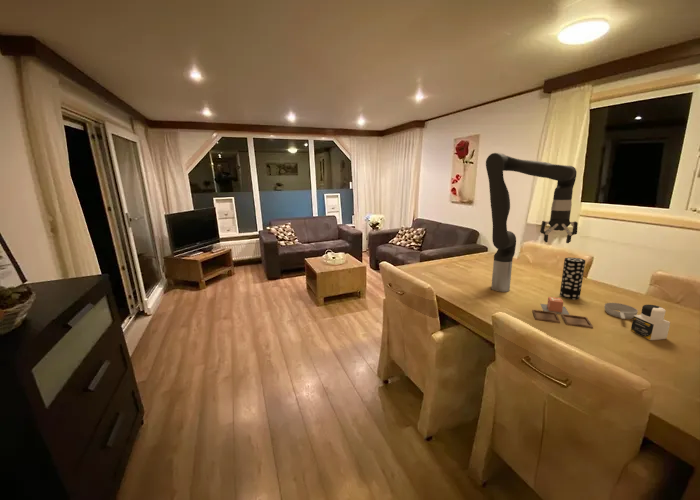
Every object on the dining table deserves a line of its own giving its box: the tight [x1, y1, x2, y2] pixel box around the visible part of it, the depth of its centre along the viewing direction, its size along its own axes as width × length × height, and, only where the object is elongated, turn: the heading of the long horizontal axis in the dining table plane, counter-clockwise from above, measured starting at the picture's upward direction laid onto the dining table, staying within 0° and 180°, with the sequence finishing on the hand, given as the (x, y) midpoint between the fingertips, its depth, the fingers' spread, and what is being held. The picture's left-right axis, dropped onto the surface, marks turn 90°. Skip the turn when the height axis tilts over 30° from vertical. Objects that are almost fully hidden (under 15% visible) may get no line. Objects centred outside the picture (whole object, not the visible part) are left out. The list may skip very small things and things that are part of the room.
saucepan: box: [604, 302, 639, 320], centre depth 123 cm, size 11×18×4 cm, turn 141°
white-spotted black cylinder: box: [559, 257, 586, 301], centre depth 145 cm, size 8×8×20 cm
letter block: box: [546, 296, 564, 312], centre depth 133 cm, size 5×5×5 cm
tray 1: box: [531, 309, 561, 324], centre depth 127 cm, size 9×9×1 cm
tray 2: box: [560, 314, 594, 329], centre depth 121 cm, size 9×9×1 cm
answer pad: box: [540, 303, 571, 315], centre depth 133 cm, size 10×10×1 cm
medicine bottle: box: [630, 304, 671, 341], centre depth 109 cm, size 7×7×12 cm
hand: (556, 242), depth 138 cm, fingers open, 8 cm apart
